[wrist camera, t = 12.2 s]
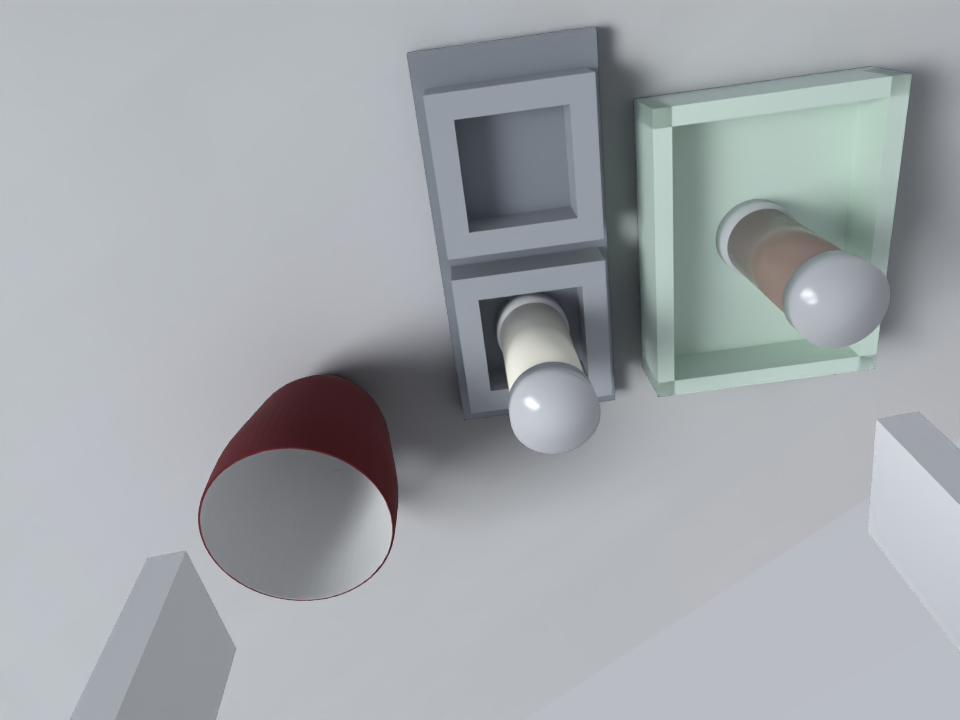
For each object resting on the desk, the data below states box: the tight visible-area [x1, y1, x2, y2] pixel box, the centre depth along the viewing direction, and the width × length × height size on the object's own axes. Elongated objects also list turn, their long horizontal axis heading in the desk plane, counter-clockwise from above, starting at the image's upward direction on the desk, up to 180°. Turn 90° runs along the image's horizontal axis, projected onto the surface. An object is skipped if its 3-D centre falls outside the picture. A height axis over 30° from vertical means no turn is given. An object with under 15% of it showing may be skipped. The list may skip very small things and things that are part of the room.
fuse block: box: [407, 27, 615, 420], centre depth 35 cm, size 18×8×3 cm, turn 7°
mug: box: [198, 375, 398, 601], centre depth 36 cm, size 11×8×10 cm
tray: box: [634, 67, 912, 397], centre depth 35 cm, size 14×11×3 cm
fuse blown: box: [716, 199, 891, 349], centre depth 31 cm, size 4×4×9 cm
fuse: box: [495, 292, 600, 454], centre depth 33 cm, size 4×4×9 cm
